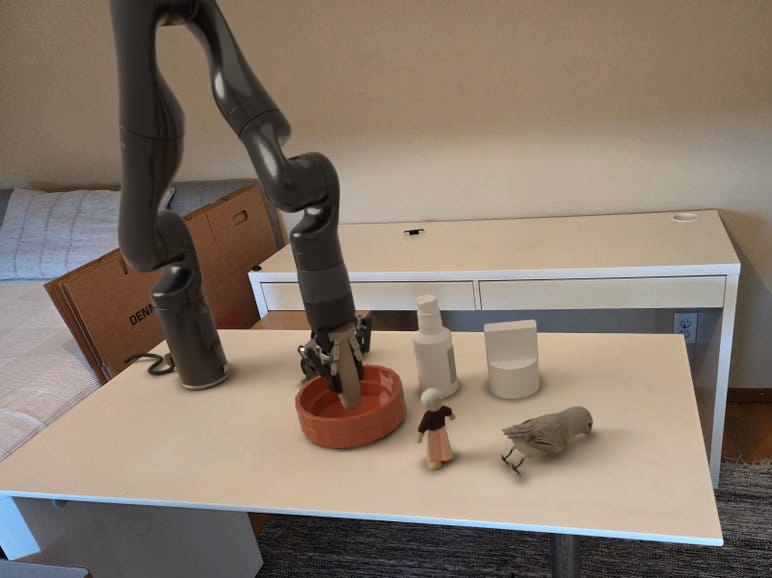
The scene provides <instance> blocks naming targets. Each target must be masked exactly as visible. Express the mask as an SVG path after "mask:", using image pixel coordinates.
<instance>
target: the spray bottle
mask: <svg viewBox="0 0 772 578" xmlns="http://www.w3.org/2000/svg"><path fill="white" fill-rule="evenodd" d="M416 306H417V310H416V314H417V321H418V322H417V324H418V330H417V331H415V332H414V334H413V335H412V346H413V351H414V358H415V365H416V370H417V377H418V384H419V389H420V393H421V394H422V393H423V392H425V391H426V390H427V389H429V388H436V389H439V390H440V391H442V393H443V395H444V397H443V399H445V398H448V397H450V396H453V395H454V394H455V393H456V392H457V390H458V388H459V383H458V374H457V367H456V366H457V365H456V359H455V352H454V351H455V350H454V343H453V334H452V332H451V330H450V329H449V328H447V327H446V326H444V325H443V321H442V315H441V308H440V307H439V303H438V297H437V295H435V294H430V293H429V294H423V295H420V296H418V297H416Z"/></svg>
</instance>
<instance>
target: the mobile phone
mask: <svg viewBox="0 0 772 578" xmlns="http://www.w3.org/2000/svg"><path fill="white" fill-rule="evenodd" d="M354 336H355V337H356V333H355V334H354ZM362 344H363V342H362ZM316 349H317V352H318V355H317V356H318V358H319V359H320V361H321V362H322V360H321V358H320V347H319V346H318V347H316ZM299 365H300V368H301V369H300V370H301V372H302V374H303V375H304V376H305V377H304V378H303V379H301V380H300V381H299V383H300V384H301V385H303V384H306V383H307V382H308V381H310V380H311V379H313V378H315V377H317V376H319V375H317V374H314V373H313V372H312V371H311V370H310V368H309V367H308V365H307V364H306V362H305V361H304V359H303V358H302V357H301V359H300V362H299Z"/></svg>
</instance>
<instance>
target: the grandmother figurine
mask: <svg viewBox="0 0 772 578" xmlns="http://www.w3.org/2000/svg"><path fill="white" fill-rule="evenodd" d="M443 397H444V395H443V393H442V391H440V390H439V389H436V388H429V389H427V390H426V391H425V392H423V393H422V392H421V396H420V402H421V404H422V405H423V407H425V409H426V411H425V412H424V414H423V416H422V418H421V421H420V423H419V425H418V427H417V432H416V437H415V440H414V441H415V443H417V444H421V443H422V442H423V438H424V437H425V433H426V444H425V447H426V458H427V460H426V465H427V467H428V468H429V469H430V470H432V471H437V470H439V469H441V468H442V466H443V463H442V462H445V463H446V462H450V461H451V460H453V459H454V455H453V451H452V446H451V443H450V439H449V435H448V431H447V423H446V418H448V420H449V421H455V420H456V418H457V417H456V414H455V413H454V412H453V409H452V408H451V407H449V406H448V405H444V404H443V399H444V398H443Z"/></svg>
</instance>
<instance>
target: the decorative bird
mask: <svg viewBox="0 0 772 578" xmlns="http://www.w3.org/2000/svg"><path fill="white" fill-rule="evenodd" d="M591 414H592V413H590V411H589V410H588V409H587V408H585V407H583V406H570V407H568V408H566V409H564V410H562V411H559V412H553V413H546V414H543V415H539V416H536V417H534V418H529V419H526V420H524V421H523V422H521V423H519V424H513V425H512V426H509V427H506V428H501V431H502V432H503V433H502V435H503V436H506V439H508V440H510V441H511V442H512V444H513V446H511V449H510V451H509V452H508V454H507V455H505V456H504V455H503V454H502V453H499V455H500V456H501V458H500V459H501V461H503V462H504V463H505V464H506V465H507V466H508V467H509V468H511V470H512V471H514V472H515V473H516V475H517V476H519V477H520V478H522V475H521V473H520V471H519V470H518V467H520V466H522V464H523V462H524V461H525V460H526V459H528V458H536V457H541V456H545V455H549V454H557V453H561V452H562V451H563V450H564V449H565V448H566V447H567V446H568V445H569V444H570V443H571V442H572V441H573V440H574V439H575V438H576V436H578V435H581V434H585V435H589V434H591V432H592V430H593V425H594V419H593V416H592V415H591ZM516 449H517V451H518V452H519V453H520V454H522V455H523V456H522V458H521V460H520V462H519V463H518V464H517V465H514V463H511V462H509V461H508V460H507V459H508V458H509V457H510V456H511V455H512V454H513V452H514V450H516ZM510 465H511V466H510Z"/></svg>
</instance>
